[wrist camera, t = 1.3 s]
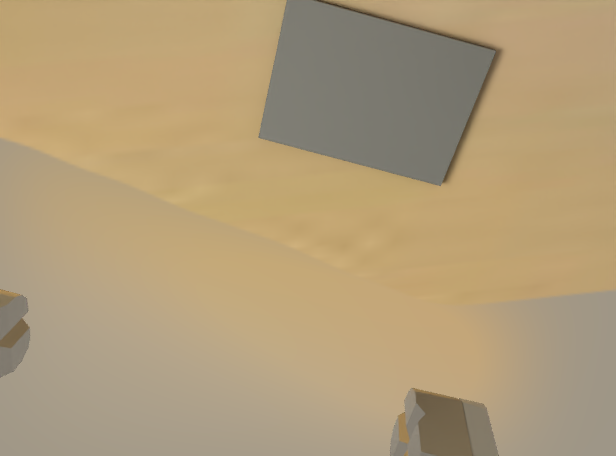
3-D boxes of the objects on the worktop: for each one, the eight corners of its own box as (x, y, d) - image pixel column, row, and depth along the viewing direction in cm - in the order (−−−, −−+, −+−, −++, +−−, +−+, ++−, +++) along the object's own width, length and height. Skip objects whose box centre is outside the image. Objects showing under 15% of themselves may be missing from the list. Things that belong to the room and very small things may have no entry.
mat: (259, 135, 39) (258, 137, 38) (289, -8, 34) (288, -7, 33) (439, 182, 39) (440, 185, 39) (494, 49, 35) (495, 51, 34)
